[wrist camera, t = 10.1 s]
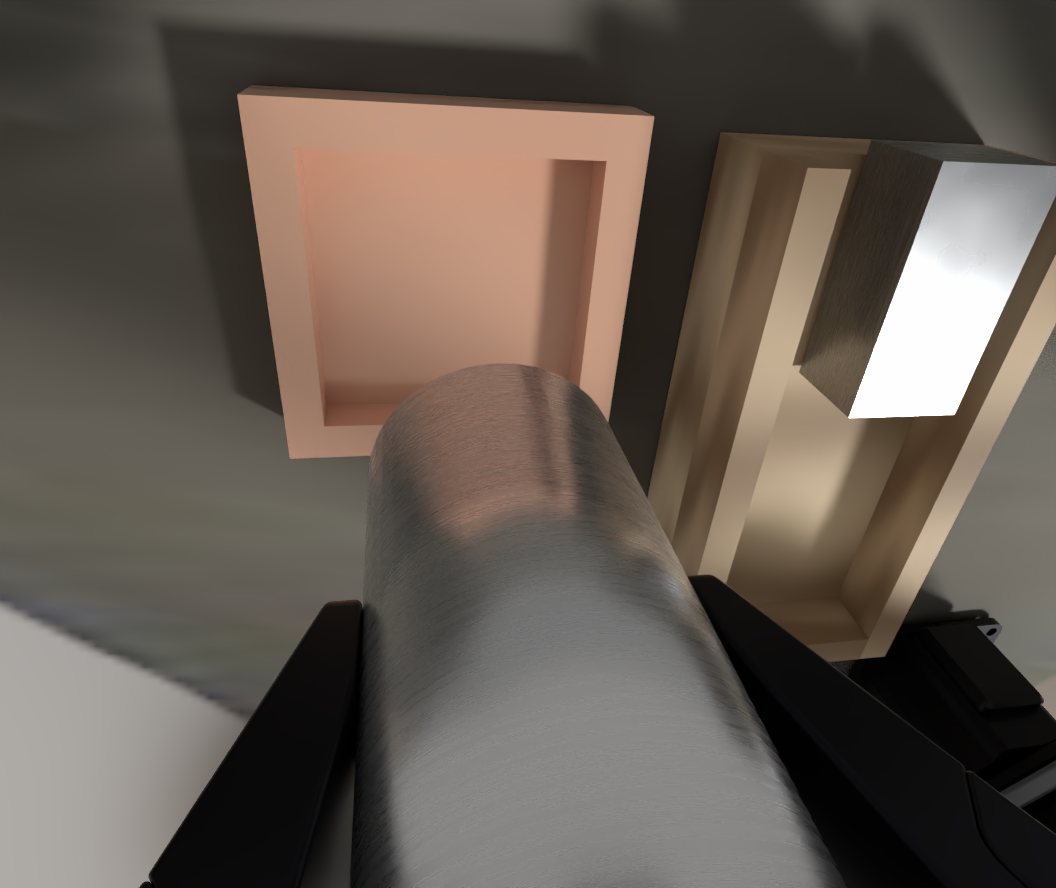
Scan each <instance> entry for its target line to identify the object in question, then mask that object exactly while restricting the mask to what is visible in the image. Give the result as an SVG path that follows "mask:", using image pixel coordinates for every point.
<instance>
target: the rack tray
mask: <svg viewBox="0 0 1056 888" xmlns="http://www.w3.org/2000/svg"><path fill="white" fill-rule="evenodd" d="M237 97H238V104H239V111H240V118H241V125H242V132H243V139H244V146H245V152H246V159H247V166H248V173H249V180H250V187H251V194H252V201H253V207H254V214H255V221H256V228H257V235H258V242H259V249H260V256H261V263H262V269H263V276H264V283H265V290H266V297H267V304H268V311H269V318H270V324H271V331H272V338H273V345H274V352H275V359H276V366H277V373H278V380H279V386H280V393H281V400H282V407H283V414H284V421H285V428H286V435H287V441H288V448H289V455H290V459H295V458H322V457H349V456H371V453H372V450H373V447H374V444H375V441H376V438H377V436H378V435H379V433H380V431H381V429H382V427H383V425H384V424H385V422H386V421H387V419H388V418H389V417H390V415H391V414H392V413H393V411H394V410H395V409H396V408H397V407H398V406H399V405H400V404H401V403H402V402H403V401H404V400H405V399H406V398H408V397H409V396H410V395H411V394H413V393H414V392H415V391H416V390H418V389H419V388H421V387H423V386H424V385H426V384H428V383H429V382H431V381H433V380H435V379H437V378H439V377H441V376H443V375H446V374H448V373H451V372H454V371H457V370H460V369H463V368H468V367H473V366H478V365H483V364H496V363H508V364H521V365H527V366H533V367H537V368H541V369H544V370H547V371H550V372H553V373H555V374H557V375H559V376H562V377H564V378H566V379H567V380H569V381H570V382H572V383H574V384H575V385H577V386H578V387H579V388H581V389H582V390H583V391H584V392H585V393H587V394H588V395H589V396H590V397H591V398H592V400H593V401H594V402H595V403H596V404H597V405H598V407H599V408H600V410H601V411H602V413H603V415H604V416H605V418H606V420H607V422H609V415H610V408H611V402H612V395H613V388H614V382H615V375H616V369H617V362H618V355H619V349H620V342H621V335H622V329H623V322H624V316H625V309H626V302H627V296H628V289H629V282H630V276H631V269H632V262H633V256H634V249H635V243H636V236H637V229H638V223H639V216H640V209H641V203H642V196H643V190H644V183H645V176H646V170H647V163H648V156H649V150H650V143H651V137H652V130H653V123H654V117H655V116H653V115H651V114H648V113H646V112H644V111H642V110H640V109H637V108H635V107H633V106H625V105H606V104H588V103H570V102H551V101H533V100H515V99H496V98H478V97H460V96H441V95H423V94H405V93H386V92H368V91H350V90H331V89H313V88H295V87H276V86H258V85H251V86H250V87H248V88H246V89H245V90H243V91H242V92H240V93H239V94H237Z"/></svg>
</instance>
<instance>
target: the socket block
mask: <svg viewBox="0 0 1056 888" xmlns="http://www.w3.org/2000/svg"><path fill="white" fill-rule="evenodd" d="M871 140H872V139H851V138H831V137H810V136H790V135H769V134H749V133H728V132H720V137H719V142H718V147H717V152H716V157H715V162H714V167H713V172H712V177H711V182H710V187H709V192H708V197H707V202H706V207H705V212H704V217H703V222H702V227H701V232H700V237H699V242H698V247H697V252H696V257H695V262H694V267H693V272H692V277H691V282H690V287H689V292H688V297H687V302H686V307H685V312H684V317H683V322H682V327H681V332H680V337H679V342H678V347H677V352H676V357H675V362H674V367H673V372H672V377H671V382H670V387H669V392H668V397H667V402H666V407H665V412H664V417H663V422H662V427H661V432H660V437H659V442H658V447H657V452H656V457H655V462H654V467H653V472H652V477H651V482H650V487H649V492H648V497H647V499H648V501H649V503H650V505H651V507H652V509H653V511H654V513H655V515H656V517H657V519H658V521H659V523H660V525H661V527H662V528H663V530H664V532H665V534H666V536H667V538H668V540H669V542H670V544H671V546H672V548H673V550H674V552H675V554H676V556H677V558H678V560H679V561H680V563H681V565H682V567H683V569H684V571H685V573H686V575H687V576H693V575H707V574H709V575H713V576H715V577H717V578H719V579H720V580H721V581H722V582H724V583H725V584H726V585H728V586H729V587H730V588H732V589H733V590H734V591H736V592H737V593H738V594H739V595H741V596H742V597H743V598H745V599H746V600H747V601H749V602H750V603H751V604H753V605H754V606H755V607H757V608H758V609H759V610H760V611H762V612H763V613H764V614H766V615H767V616H768V617H770V618H771V619H772V620H774V621H775V622H776V623H777V624H779V625H780V626H781V627H783V628H784V629H785V630H787V631H788V632H789V633H791V634H792V635H793V636H795V637H796V638H797V639H798V640H800V641H801V642H802V643H804V644H805V645H806V646H808V647H809V648H810V649H812V650H813V651H814V652H815V653H817V654H818V655H819V656H821V657H822V658H823V659H825V660H826V661H827V662H835V661H845V660H855V659H865V658H875V657H884V656H885V655H886V653H887V651H888V649H889V647H890V646H891V644H892V642H893V640H894V638H895V636H896V634H897V632H898V630H899V628H900V626H901V624H902V622H903V620H904V618H905V616H906V614H907V612H908V611H909V609H910V607H911V605H912V603H913V601H914V599H915V597H916V595H917V593H918V591H919V589H920V587H921V585H922V583H923V581H924V579H925V577H926V575H927V574H928V572H929V570H930V568H931V566H932V564H933V562H934V560H935V558H936V556H937V554H938V552H939V550H940V548H941V546H942V544H943V542H944V540H945V539H946V537H947V535H948V533H949V531H950V529H951V527H952V525H953V523H954V521H955V519H956V517H957V515H958V513H959V511H960V509H961V507H962V505H963V503H964V502H965V500H966V498H967V496H968V494H969V492H970V490H971V488H972V486H973V484H974V482H975V480H976V478H977V476H978V474H979V472H980V470H981V468H982V467H983V465H984V463H985V461H986V459H987V457H988V455H989V453H990V451H991V449H992V447H993V445H994V443H995V441H996V439H997V437H998V435H999V433H1000V431H1001V430H1002V428H1003V426H1004V424H1005V422H1006V420H1007V418H1008V416H1009V414H1010V412H1011V410H1012V408H1013V406H1014V404H1015V402H1016V400H1017V398H1018V396H1019V395H1020V393H1021V391H1022V389H1023V387H1024V385H1025V383H1026V381H1027V379H1028V377H1029V375H1030V373H1031V371H1032V369H1033V367H1034V365H1035V363H1036V361H1037V359H1038V358H1039V356H1040V354H1041V352H1042V350H1043V348H1044V346H1045V344H1046V342H1047V340H1048V338H1049V336H1050V334H1051V332H1052V330H1053V328H1054V326H1055V324H1056V196H1055V198H1054V201H1053V203H1052V205H1051V207H1050V209H1049V211H1048V214H1047V216H1046V218H1045V220H1044V222H1043V224H1042V226H1041V229H1040V231H1039V233H1038V235H1037V237H1036V239H1035V242H1034V244H1033V246H1032V248H1031V250H1030V252H1029V254H1028V257H1027V259H1026V261H1025V263H1024V265H1023V267H1022V270H1021V272H1020V274H1019V276H1018V278H1017V280H1016V283H1015V285H1014V287H1013V289H1012V291H1011V293H1010V295H1009V298H1008V300H1007V302H1006V304H1005V306H1004V308H1003V311H1002V313H1001V315H1000V317H999V319H998V321H997V323H996V326H995V328H994V330H993V332H992V334H991V336H990V339H989V341H988V343H987V345H986V347H985V349H984V351H983V354H982V356H981V358H980V360H979V362H978V364H977V367H976V369H975V371H974V373H973V375H972V377H971V380H970V382H969V384H968V386H967V388H966V390H965V392H964V395H963V397H962V399H961V401H960V403H959V405H958V408H957V410H956V412H955V414H954V415H929V416H897V417H865V418H848V417H847V416H846V415H845V414H844V413H843V412H842V411H840V410H839V409H838V408H837V407H836V406H835V405H834V404H833V403H832V402H831V401H830V400H828V399H827V398H826V397H825V396H824V395H823V394H822V393H821V392H820V391H819V390H818V389H816V388H815V387H814V386H813V385H812V384H811V383H810V382H809V381H808V380H807V379H806V378H804V377H803V376H802V375H801V374H800V373H799V371H800V367H801V364H802V361H803V358H804V355H805V351H806V348H807V345H808V342H809V338H810V335H811V332H812V329H813V326H814V322H815V319H816V316H817V313H818V310H819V306H820V303H821V300H822V297H823V293H824V290H825V287H826V284H827V281H828V277H829V274H830V271H831V268H832V265H833V261H834V258H835V255H836V252H837V248H838V245H839V242H840V239H841V236H842V232H843V229H844V226H845V223H846V220H847V216H848V213H849V210H850V207H851V203H852V200H853V197H854V194H855V191H856V187H857V184H858V181H859V178H860V174H861V171H862V168H863V165H864V162H865V158H866V155H867V152H868V149H869V146H870V142H871ZM884 141H893V140H884ZM905 142H913V141H905ZM926 143H934V142H926ZM946 144H954V143H946ZM967 145H975V144H967ZM984 146H988V145H984ZM988 147H992V146H988ZM992 148H996V147H992ZM996 149H1000V148H996ZM1000 150H1004V149H1000ZM1004 151H1008V150H1004ZM1008 152H1012V151H1008ZM1012 153H1016V152H1012ZM1016 154H1020V153H1016ZM1020 155H1024V154H1020ZM1024 156H1028V155H1024ZM1028 157H1032V156H1028ZM1032 158H1036V157H1032ZM1036 159H1040V160H1044V161H1048V162H1052V163H1056V162H1053V161H1049V160H1045V159H1041V158H1036Z"/></svg>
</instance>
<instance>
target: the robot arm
mask: <svg viewBox="0 0 1056 888" xmlns="http://www.w3.org/2000/svg"><path fill="white" fill-rule="evenodd" d="M687 577H688V579H689V581H690V583H691V585H692V587H693V589H694V591H695V593H696V595H697V596H698V598H699V600H700V602H701V604H702V606H703V608H704V610H705V612H706V614H707V616H708V618H709V620H710V622H711V624H712V626H713V628H714V629H715V631H716V633H717V635H718V637H719V639H720V641H721V643H722V645H723V647H724V649H725V651H726V653H727V655H728V657H729V659H730V661H731V663H732V664H733V666H734V668H735V670H736V672H737V674H738V676H739V678H740V680H741V682H742V684H743V686H744V688H745V690H746V692H747V694H748V696H749V697H750V699H751V701H752V703H753V705H754V707H755V709H756V711H757V713H758V715H759V717H760V719H761V721H762V723H763V725H764V727H765V729H766V731H767V732H768V734H769V736H770V738H771V740H772V742H773V744H774V746H775V748H776V750H777V752H778V754H779V756H780V758H781V760H782V762H783V764H784V765H785V767H786V769H787V771H788V773H789V775H790V777H791V779H792V781H793V783H794V785H795V787H796V789H797V791H798V793H799V795H800V797H801V799H802V800H803V802H804V804H805V806H806V808H807V810H808V812H809V814H810V816H811V818H812V820H813V822H814V824H815V826H816V828H817V830H818V832H819V833H820V835H821V837H822V839H823V841H824V843H825V845H826V847H827V849H828V851H829V853H830V855H831V857H832V859H833V861H834V863H835V865H836V866H837V868H838V870H839V872H840V874H841V876H842V878H843V880H844V882H845V884H846V886H847V888H1056V720H1055V719H1054V718H1053V717H1052V716H1051V715H1050V714H1049V712H1048V711H1047V710H1046V709H1045V708H1044V707H1043V706H1042V704H1043V702H1044V699H1043V698H1042V696H1041V695H1040V693H1039V692H1038V691H1037V690H1036V689H1035V688H1034V687H1033V686H1032V685H1031V684H1030V683H1029V682H1028V680H1027V679H1026V678H1025V677H1024V676H1023V675H1022V674H1021V673H1020V672H1019V671H1018V670H1017V669H1016V668H1015V667H1014V665H1013V664H1012V663H1011V662H1010V661H1009V660H1008V659H1007V658H1006V657H1005V656H1004V655H1003V654H1002V653H1001V652H1000V650H999V649H998V648H997V647H996V646H995V645H994V644H993V643H994V641H995V640H996V638H997V637H998V635H999V634H1000V632H1001V630H1002V626H1001V625H1000V624H999V623H998V622H997V621H996V620H995V619H994V618H983V619H972V620H961V621H950V622H940V623H929V624H918V625H907V626H900V628H899V630H898V632H897V634H896V636H895V638H894V640H893V642H892V644H891V646H890V647H889V649H888V651H887V653H886V655H885V656H884V657H875V658H865V659H858V661H857V663H856V665H855V667H854V669H853V671H852V673H851V675H850V677H849V678H848V677H847V676H846V675H844V674H843V673H842V672H840V671H839V670H838V669H836V668H835V667H834V666H833V665H831V664H830V663H829V662H827V661H826V660H825V659H823V658H822V657H821V656H819V655H818V654H817V653H815V652H814V651H813V650H812V649H810V648H809V647H808V646H806V645H805V644H804V643H802V642H801V641H800V640H798V639H797V638H796V637H795V636H793V635H792V634H791V633H789V632H788V631H787V630H785V629H784V628H783V627H781V626H780V625H779V624H777V623H776V622H775V621H774V620H772V619H771V618H770V617H768V616H767V615H766V614H764V613H763V612H762V611H760V610H759V609H758V608H757V607H755V606H754V605H753V604H751V603H750V602H749V601H747V600H746V599H745V598H743V597H742V596H741V595H739V594H738V593H737V592H736V591H734V590H733V589H732V588H730V587H729V586H728V585H726V584H725V583H724V582H722V581H721V580H720V579H719V578H717V577H715V576H713V575H709V574H707V575H693V576H687ZM362 614H363V608H362V604H361V602H360V601H358V600H346V601H332V602H328V603H327V604H325V605H324V606H323V608H322V609H321V611H320V612H319V614H318V615H317V617H316V618H315V620H314V621H313V623H312V624H311V626H310V627H309V629H308V631H307V632H306V634H305V635H304V637H303V638H302V640H301V641H300V643H299V644H298V646H297V647H296V649H295V650H294V652H293V654H292V655H291V657H290V658H289V660H288V661H287V663H286V664H285V666H284V667H283V669H282V670H281V672H280V673H279V675H278V677H277V678H276V680H275V681H274V683H273V684H272V686H271V687H270V689H269V690H268V692H267V693H266V695H265V696H264V698H263V700H262V701H261V703H260V704H259V706H258V707H257V709H256V710H255V712H254V713H253V715H252V716H251V718H250V719H249V721H248V723H247V724H246V726H245V727H244V729H243V730H242V732H241V733H240V735H239V736H238V738H237V740H236V741H235V742H234V744H233V746H232V747H231V749H230V750H229V752H228V753H227V755H226V756H225V758H224V759H223V761H222V762H221V764H220V765H219V767H218V768H217V770H216V772H215V773H214V775H213V776H212V778H211V779H210V781H209V782H208V784H207V785H206V787H205V788H204V790H203V791H202V793H201V795H200V796H199V798H198V799H197V801H196V802H195V804H194V805H193V807H192V808H191V810H190V811H189V813H188V814H187V816H186V818H185V819H184V821H183V822H182V824H181V825H180V827H179V828H178V830H177V831H176V833H175V834H174V836H173V838H172V839H171V841H170V842H169V844H168V845H167V847H166V848H165V850H164V851H163V853H162V854H161V856H160V857H159V859H158V861H157V862H156V863H155V865H154V867H153V868H152V870H151V871H150V873H149V880H150V882H151V883H150V882H144V883H142V885H141V886H140V887H139V888H350V867H351V845H352V824H353V802H354V781H355V759H356V738H357V716H358V699H359V678H360V657H361V635H362Z"/></svg>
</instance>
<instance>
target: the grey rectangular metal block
mask: <svg viewBox="0 0 1056 888" xmlns="http://www.w3.org/2000/svg"><path fill="white" fill-rule="evenodd" d="M1055 196H1056V163H1052V162H1048V161H1044V160H1040V159H1036V158H1032V157H1028V156H1024V155H1020V154H1016V153H1012V152H1008V151H1004V150H1000V149H996V148H992V147H988V146H984V145H967V144H946V143H926V142H905V141H884V140H871V142H870V146H869V149H868V152H867V155H866V158H865V162H864V165H863V168H862V171H861V174H860V178H859V181H858V184H857V187H856V191H855V194H854V197H853V200H852V203H851V207H850V210H849V213H848V216H847V220H846V223H845V226H844V229H843V232H842V236H841V239H840V242H839V245H838V248H837V252H836V255H835V258H834V261H833V265H832V268H831V271H830V274H829V277H828V281H827V284H826V287H825V290H824V293H823V297H822V300H821V303H820V306H819V310H818V313H817V316H816V319H815V322H814V326H813V329H812V332H811V335H810V338H809V342H808V345H807V348H806V351H805V355H804V358H803V361H802V364H801V367H800V371H799V373H800V374H801V375H802V376H803V377H804V378H806V379H807V380H808V381H809V382H810V383H811V384H812V385H813V386H814V387H815V388H816V389H818V390H819V391H820V392H821V393H822V394H823V395H824V396H825V397H826V398H827V399H828V400H830V401H831V402H832V403H833V404H834V405H835V406H836V407H837V408H838V409H839V410H840V411H842V412H843V413H844V414H845V415H846V416H847V417H848V418H865V417H897V416H929V415H954V414H955V412H956V410H957V408H958V405H959V403H960V401H961V399H962V397H963V395H964V392H965V390H966V388H967V386H968V384H969V382H970V380H971V377H972V375H973V373H974V371H975V369H976V367H977V364H978V362H979V360H980V358H981V356H982V354H983V351H984V349H985V347H986V345H987V343H988V341H989V339H990V336H991V334H992V332H993V330H994V328H995V326H996V323H997V321H998V319H999V317H1000V315H1001V313H1002V311H1003V308H1004V306H1005V304H1006V302H1007V300H1008V298H1009V295H1010V293H1011V291H1012V289H1013V287H1014V285H1015V283H1016V280H1017V278H1018V276H1019V274H1020V272H1021V270H1022V267H1023V265H1024V263H1025V261H1026V259H1027V257H1028V254H1029V252H1030V250H1031V248H1032V246H1033V244H1034V242H1035V239H1036V237H1037V235H1038V233H1039V231H1040V229H1041V226H1042V224H1043V222H1044V220H1045V218H1046V216H1047V214H1048V211H1049V209H1050V207H1051V205H1052V203H1053V201H1054V198H1055Z"/></svg>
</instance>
